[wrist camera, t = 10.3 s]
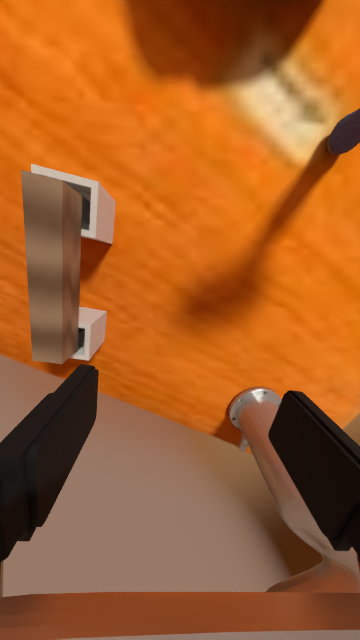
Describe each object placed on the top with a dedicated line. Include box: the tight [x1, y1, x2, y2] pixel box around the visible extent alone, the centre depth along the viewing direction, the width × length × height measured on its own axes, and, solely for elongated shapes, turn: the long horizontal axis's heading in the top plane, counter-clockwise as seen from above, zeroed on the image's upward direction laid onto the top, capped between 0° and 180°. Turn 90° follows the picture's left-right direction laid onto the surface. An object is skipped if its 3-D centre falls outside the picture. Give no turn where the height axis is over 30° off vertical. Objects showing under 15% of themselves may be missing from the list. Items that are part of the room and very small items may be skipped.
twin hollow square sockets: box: [31, 164, 116, 361], centre depth 26 cm, size 24×7×7 cm, turn 168°
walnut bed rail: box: [21, 170, 91, 364], centre depth 22 cm, size 20×4×7 cm, turn 168°
